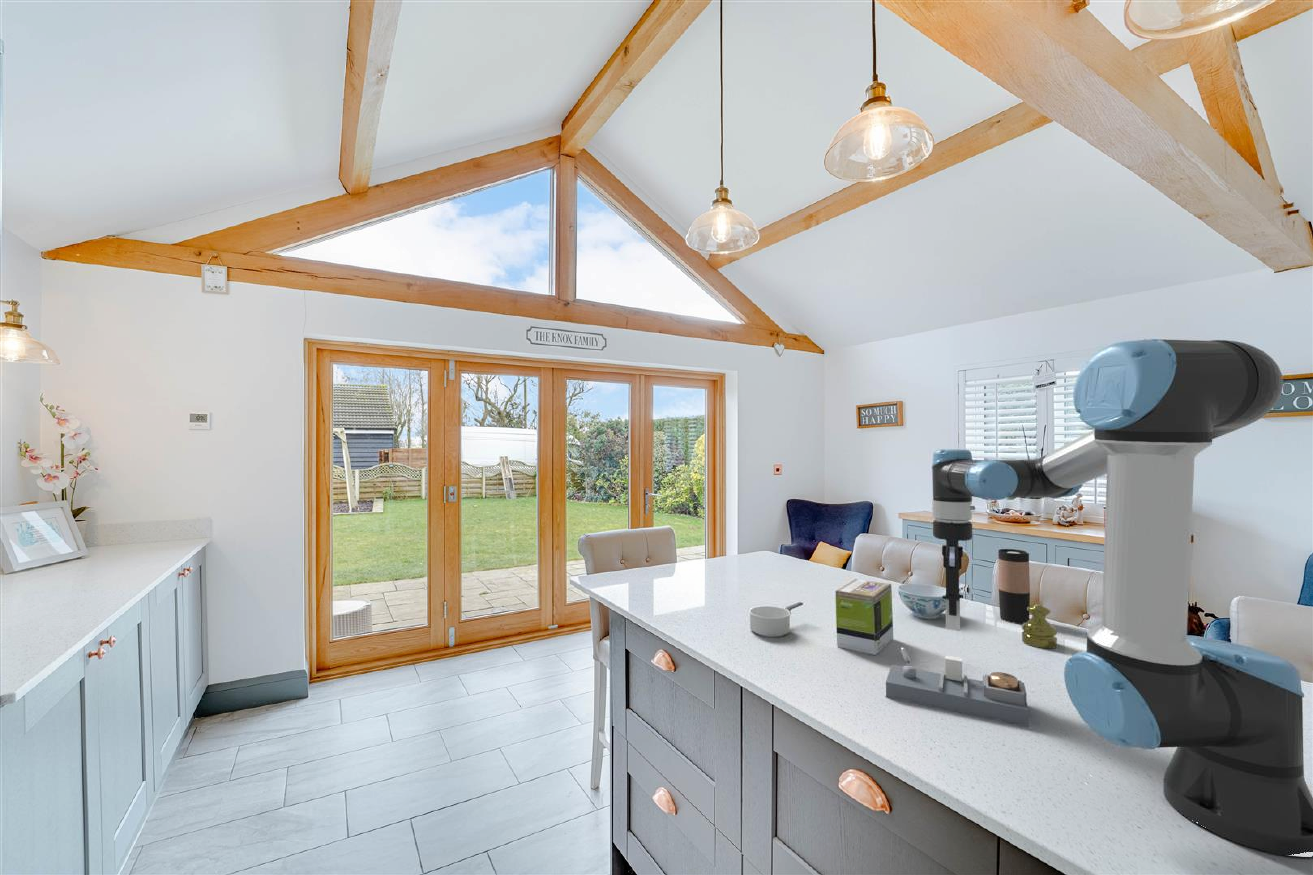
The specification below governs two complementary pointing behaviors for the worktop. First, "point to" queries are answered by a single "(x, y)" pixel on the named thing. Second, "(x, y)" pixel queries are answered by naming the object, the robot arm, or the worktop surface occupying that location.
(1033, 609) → the gold chess piece
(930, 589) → the chinaware
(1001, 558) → the travel mug
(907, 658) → the toggle lever
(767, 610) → the saucepan
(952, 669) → the white slider block
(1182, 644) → the robot arm
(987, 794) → the worktop surface
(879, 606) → the tea box
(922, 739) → the worktop surface
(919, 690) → the control panel
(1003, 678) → the push button
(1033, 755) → the worktop surface
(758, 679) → the worktop surface
